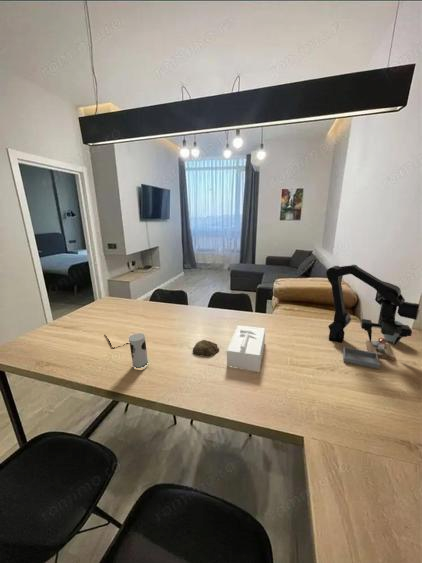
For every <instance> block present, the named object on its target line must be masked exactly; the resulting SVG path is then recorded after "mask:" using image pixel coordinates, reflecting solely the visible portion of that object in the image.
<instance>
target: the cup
mask: <svg viewBox="0 0 422 563" xmlns="http://www.w3.org/2000/svg"><path fill="white" fill-rule="evenodd" d="M395 324H397V325H399V324H401V325H405V324H404V323H402V322H400V321H398V320H395ZM382 335H383V338H384V339H386V340H387V342H389V343H393V341H394V337H395V334H394V336H391V335H387V334H382ZM398 342H401V339H400V340H399V341H398ZM398 342H397V343H398Z"/></svg>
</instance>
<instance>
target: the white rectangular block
mask: <svg viewBox="0 0 422 563" xmlns="http://www.w3.org/2000/svg"><path fill="white" fill-rule="evenodd" d="M265 337H266V327H265V328H263V327H254V326H249V325H248V326H247V325H240V324H239V325H237V326H236V328H235V330H234V334H233V335H232V337H231V340H230V341H229V344H228V346H227V350H226V367H227V366H232V367H237V368H236V369H238V368H242V369H241V370H244V369H248V370H247V371H250V370H253V371H252V372H256V371H259V372H260V369H261V365H262V359H263V354H264V349H265V348H264V347H265V340H266V338H265ZM232 367H231V368H232Z"/></svg>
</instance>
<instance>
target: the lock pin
mask: <svg viewBox="0 0 422 563" xmlns="http://www.w3.org/2000/svg"><path fill="white" fill-rule="evenodd" d="M377 341H379V345H378V350H377V351H376V352H378V353H384V347H385V344H388V343H387V342H388V341H387V340H386V339H385V338H384V337H378V340H377Z"/></svg>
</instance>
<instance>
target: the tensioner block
mask: <svg viewBox="0 0 422 563" xmlns="http://www.w3.org/2000/svg"><path fill="white" fill-rule="evenodd" d="M365 344H366V351H368V352H373V353H377V355H378V358H381V359H387V360H392V361H395V357H396V356H395V354H394V352H393V349H392V347H391V344H389V343H385V347H384V352H383V353H378V352H377V350H378V345H379V341H378V340H377V341H376V340H374V341H372V340H371V342H370V340H365Z"/></svg>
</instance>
